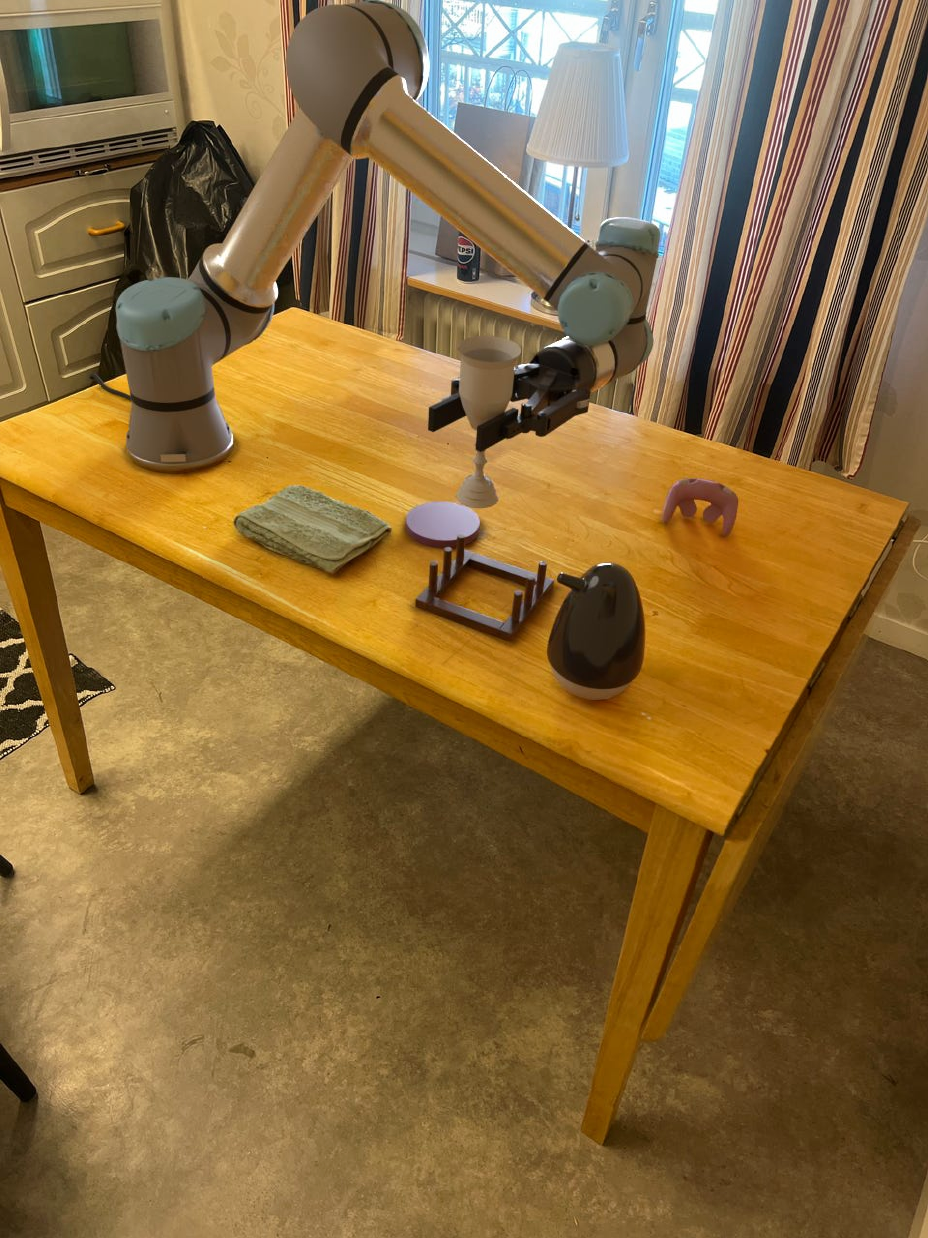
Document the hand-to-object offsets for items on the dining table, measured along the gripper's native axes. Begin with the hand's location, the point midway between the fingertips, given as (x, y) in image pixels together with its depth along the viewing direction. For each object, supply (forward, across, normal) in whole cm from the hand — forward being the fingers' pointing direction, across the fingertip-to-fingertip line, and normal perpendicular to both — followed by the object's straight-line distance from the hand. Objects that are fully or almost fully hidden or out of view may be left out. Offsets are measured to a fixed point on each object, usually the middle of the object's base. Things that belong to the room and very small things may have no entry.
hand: (455, 429), depth 95 cm
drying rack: (-3, -4, -22) cm, 22 cm away
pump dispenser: (+2, -22, -22) cm, 31 cm away
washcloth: (+2, +21, -22) cm, 30 cm away
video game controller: (-37, -16, -22) cm, 46 cm away
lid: (-11, +10, -22) cm, 26 cm away
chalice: (-5, 0, -11) cm, 12 cm away
